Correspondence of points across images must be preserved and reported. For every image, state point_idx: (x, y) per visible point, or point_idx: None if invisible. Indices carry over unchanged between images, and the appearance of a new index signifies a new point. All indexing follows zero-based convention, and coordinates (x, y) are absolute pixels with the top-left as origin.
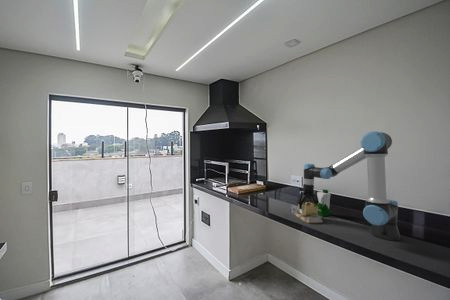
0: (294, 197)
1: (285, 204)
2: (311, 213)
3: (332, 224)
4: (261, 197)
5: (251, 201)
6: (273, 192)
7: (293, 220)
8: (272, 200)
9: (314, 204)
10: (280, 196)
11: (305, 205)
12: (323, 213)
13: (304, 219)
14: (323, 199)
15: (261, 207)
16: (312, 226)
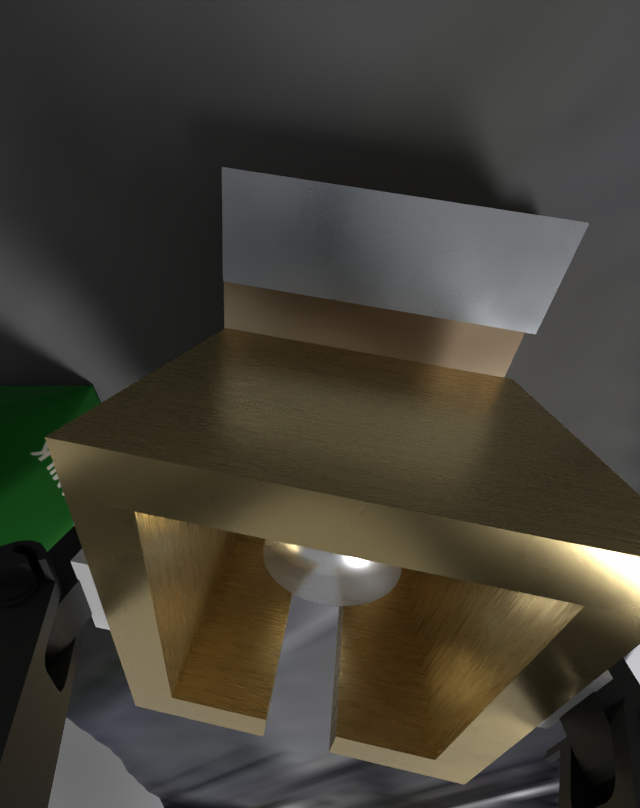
0: (116, 725)
1: (276, 696)
2: (370, 369)
3: (107, 3)
4: (348, 792)
5: (487, 793)
6: (206, 791)
7: (626, 426)
8: (315, 754)
9: (109, 580)
10: (204, 759)
11: (560, 638)
12: (47, 406)
13: (513, 351)
14: None
15: (541, 733)
16: (634, 30)
